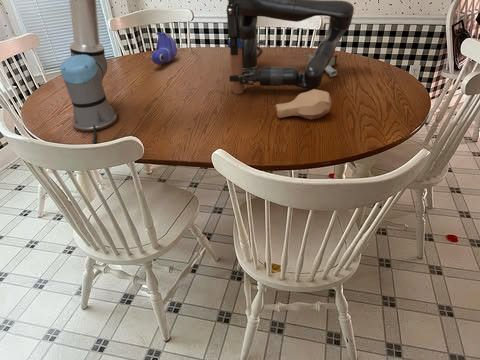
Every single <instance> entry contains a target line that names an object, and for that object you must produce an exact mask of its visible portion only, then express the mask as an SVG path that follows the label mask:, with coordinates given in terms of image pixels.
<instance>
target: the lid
mask: <svg viewBox="0 0 480 360" xmlns="http://www.w3.org/2000/svg"><path fill="white" fill-rule="evenodd" d="M237 44H238V48H241V47H243V41H242V39H240V38H237ZM227 47H228V48H229V49H230V38H228V40H227Z"/></svg>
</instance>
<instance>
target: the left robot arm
mask: <svg viewBox="0 0 480 360" xmlns="http://www.w3.org/2000/svg"><path fill="white" fill-rule="evenodd" d="M68 1H69V10H70V18H71V19H70V21H71V26H72V35H73V42H72V43H71V44H70V45H69V49H70V56H69V57H68V58H65V59H63V61H61V63H60V65H59V69H60V75H61V77H62V79H63V82H64V84H65V87H66V90H67V93H68V96H69V99H70V101H71V104H72V108H73V114H72V117H73V118H72V119H73V125H74V128H75V129H76V131H78V132H84V133H92V132H93V141H92V142H93V144H94V145H96V144H97V132H99V131H102V130H105V129H107V128H110V127H111V126H113V125H115V124H116V122H117V121H118V116H117V113H118V111H117V110H114V108H113V107H112V105H111V103H110V102H109V101H108V99H107V96H106V92H105V89H104V87H103V86H104V85H103V80H104V77H105V75H106V74H107V71H108V61H107V58H106V54H105V46H104V45H102V44H101V43H100V33H99V19H98V6H97V0H68ZM227 1H228V2H227V4H226V9H225V10H226V16H227V17H226V18H227V39H230V48H229V50H230V49H231V55H238V44H237V38H240V33H239V32H242V30H240V29H241V27H240V11H239V4H240V3H239V2H238V0H227Z"/></svg>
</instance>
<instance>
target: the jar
mask: <svg viewBox="0 0 480 360" xmlns="http://www.w3.org/2000/svg"><path fill="white" fill-rule="evenodd" d="M229 57H230V73H231V76H240V75H243V66H242V48H238V55H231V49H230V48H229ZM231 87H232V88H231V89H232V94H235V95H240V94H243V93H244V91H245V89H244V84H240V82H238V81H231Z"/></svg>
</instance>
